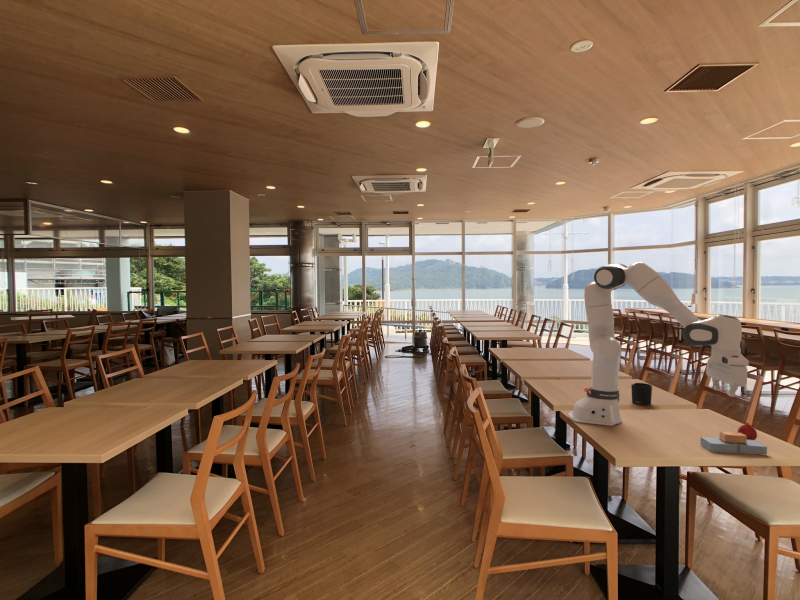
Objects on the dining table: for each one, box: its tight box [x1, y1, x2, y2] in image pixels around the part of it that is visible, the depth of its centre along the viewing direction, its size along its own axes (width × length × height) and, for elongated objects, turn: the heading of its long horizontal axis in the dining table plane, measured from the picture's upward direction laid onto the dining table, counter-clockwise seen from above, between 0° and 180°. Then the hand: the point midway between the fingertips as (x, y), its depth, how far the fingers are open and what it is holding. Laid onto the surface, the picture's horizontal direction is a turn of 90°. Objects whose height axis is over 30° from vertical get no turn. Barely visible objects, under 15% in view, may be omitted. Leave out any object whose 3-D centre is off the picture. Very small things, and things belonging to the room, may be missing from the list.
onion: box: [737, 422, 758, 441], centre depth 160 cm, size 6×6×8 cm
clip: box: [719, 431, 747, 444], centre depth 153 cm, size 7×4×6 cm, turn 79°
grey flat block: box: [700, 436, 768, 455], centre depth 153 cm, size 18×7×3 cm, turn 79°
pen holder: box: [631, 382, 653, 406], centre depth 217 cm, size 9×9×10 cm
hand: (723, 393), depth 157 cm, fingers open, 8 cm apart
